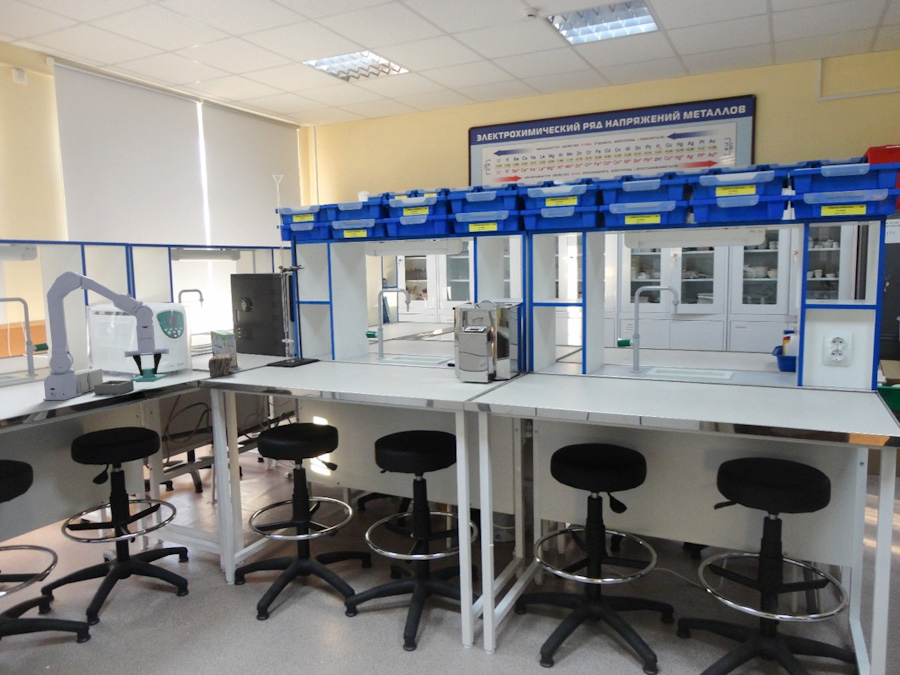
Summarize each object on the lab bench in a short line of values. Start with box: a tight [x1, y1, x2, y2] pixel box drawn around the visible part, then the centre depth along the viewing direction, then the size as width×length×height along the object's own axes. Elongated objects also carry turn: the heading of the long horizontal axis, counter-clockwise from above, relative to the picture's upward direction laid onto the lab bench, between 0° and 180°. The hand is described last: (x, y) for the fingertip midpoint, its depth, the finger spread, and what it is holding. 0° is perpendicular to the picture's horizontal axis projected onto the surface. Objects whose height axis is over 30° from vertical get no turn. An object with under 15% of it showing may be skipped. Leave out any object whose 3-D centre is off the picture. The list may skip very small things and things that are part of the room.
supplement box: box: [74, 368, 104, 394], centre depth 232 cm, size 7×7×13 cm
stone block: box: [207, 353, 232, 377], centre depth 265 cm, size 14×9×8 cm, turn 10°
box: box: [94, 379, 135, 395], centre depth 229 cm, size 9×9×4 cm
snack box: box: [210, 329, 238, 368], centre depth 290 cm, size 21×6×15 cm, turn 37°
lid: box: [129, 367, 167, 383], centre depth 233 cm, size 9×9×4 cm
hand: (148, 374), depth 233 cm, fingers closed on lid, 4 cm apart
